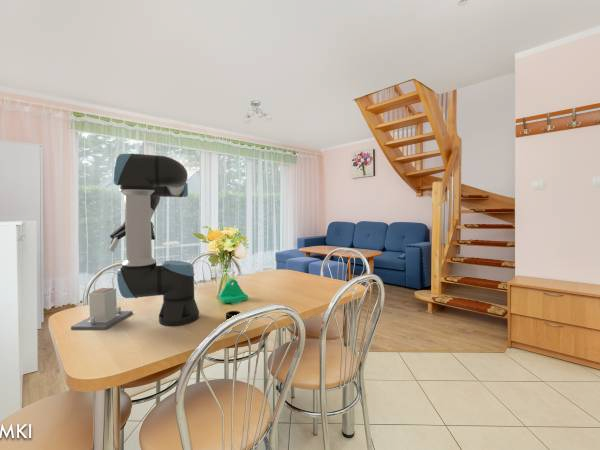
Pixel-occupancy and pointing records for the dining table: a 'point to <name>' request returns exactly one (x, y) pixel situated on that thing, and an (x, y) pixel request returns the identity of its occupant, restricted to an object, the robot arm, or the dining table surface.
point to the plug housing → (103, 304)
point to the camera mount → (232, 293)
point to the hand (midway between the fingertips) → (125, 250)
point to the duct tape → (231, 314)
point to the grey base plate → (102, 324)
